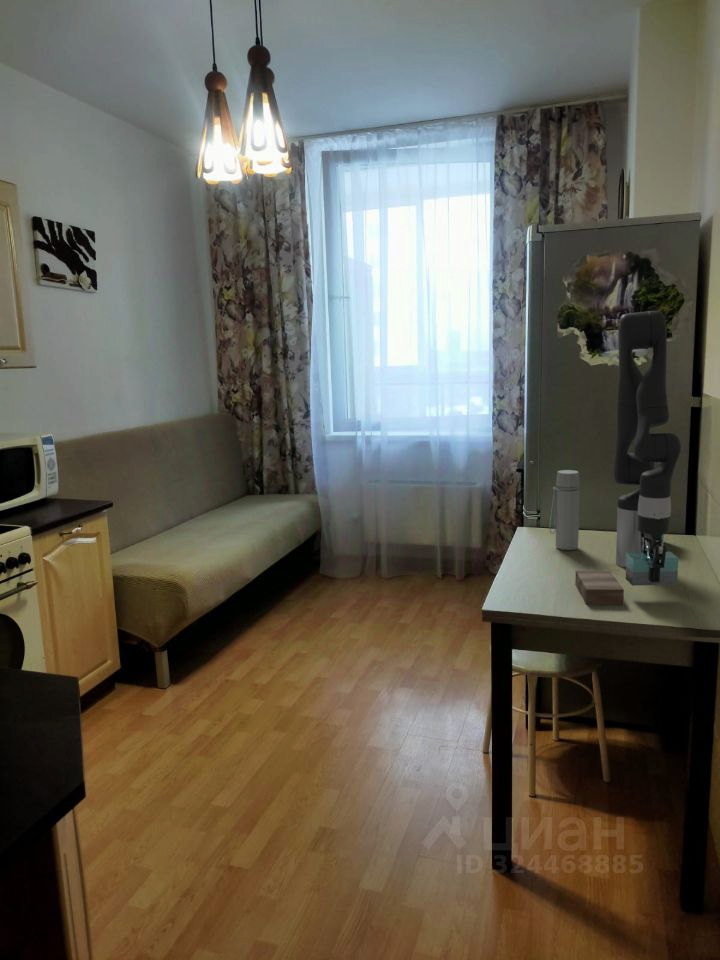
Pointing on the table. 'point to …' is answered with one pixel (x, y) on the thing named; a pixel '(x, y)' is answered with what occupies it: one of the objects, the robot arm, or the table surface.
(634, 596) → the table surface
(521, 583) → the table surface
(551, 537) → the table surface
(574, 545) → the water bottle
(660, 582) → the block
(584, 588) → the walnut stand
